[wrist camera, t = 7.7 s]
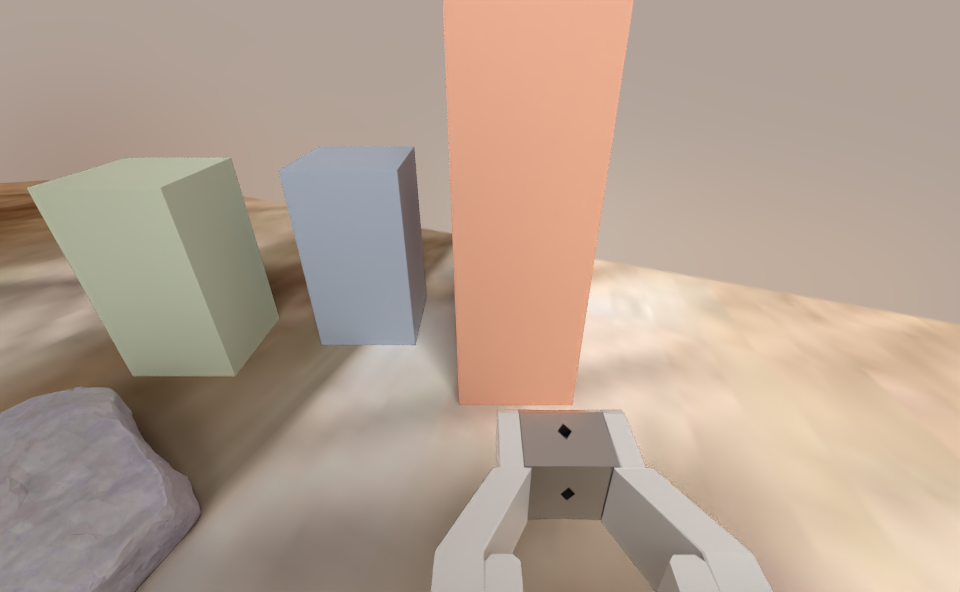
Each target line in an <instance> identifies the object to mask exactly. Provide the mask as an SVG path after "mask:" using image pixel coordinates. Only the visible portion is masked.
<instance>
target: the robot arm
mask: <svg viewBox="0 0 960 592" xmlns="http://www.w3.org/2000/svg"><path fill="white" fill-rule="evenodd" d="M535 519H586V520H601V523H602V524H603V525H604V526H605V528H606V529H607V530H608V531H609V533H610V534H611V535H612V537H613V538H614V539H615V540H616V542H617V543H618V544H619V545H620V547H621V548H622V549H623V551H624V552H625V553H626V554H627V556H628V557H629V558H630V559H631V561H632V562H633V563H634V565H635V566H636V567H637V568H638V570H639V571H640V572H641V573H642V575H643V576H644V577H645V578H646V580H647V581H648V582H649V584H650V585H651V586H652V587H653V589H654V590H655V591H656V592H773V590H772V588H771V587H770V585H769V583H768V581H767V579H766V577H765V575H764V573H763V572H762V570H761V568H760V566H759V564H758V562H757V560H756V559H755V557H754V555H753V553H752V552H750V551H749V550H748V549H747V548H746V547H745V546H743V545H742V544H741V543H740V542H739V541H738V540H736V539H735V538H734V537H733V536H732V535H731V534H729V533H728V532H727V531H726V530H725V529H724V528H722V527H721V526H720V525H719V524H718V523H717V522H715V521H714V520H713V519H712V518H711V517H710V516H708V515H707V514H706V513H705V512H704V511H702V510H701V509H700V508H699V507H698V506H697V505H695V504H694V503H693V502H692V501H691V500H690V499H688V498H687V497H686V496H685V495H684V494H683V493H681V492H680V491H679V490H678V489H677V488H676V487H674V486H673V485H672V484H671V483H670V482H669V481H667V480H666V479H665V478H664V477H663V476H662V475H660V474H659V473H658V472H657V471H656V470H655V469H653V468H646V466H645V464H644V461H643V459H642V456H641V454H640V451H639V449H638V446H637V444H636V441H635V439H634V436H633V434H632V431H631V429H630V426H629V424H628V421H627V419H626V416H625V414H624V412H623V411H622V410H558V411H556V410H502V409H497V430H496V467H493V468H492V469H491V471H490V472H489V474H488V475H487V476H486V478H485V479H484V481H483V482H482V484H481V485H480V487H479V488H478V489H477V491H476V492H475V494H474V495H473V497H472V498H471V500H470V501H469V503H468V504H467V505H466V507H465V508H464V510H463V511H462V513H461V514H460V516H459V517H458V518H457V520H456V521H455V523H454V524H453V526H452V527H451V529H450V530H449V531H448V533H447V534H446V536H445V537H444V539H443V540H442V542H441V543H440V544H439V546H438V547H437V549H436V550H435V555H434V565H433V574H432V584H431V592H523V581H522V569H521V561H520V560H519V559H518V558H517V557H516V556H515V555H514V554H512V553H513V551H514V549H515V547H516V544H517V542H518V540H519V538H520V536H521V534H522V532H523V530H524V528H525V526H526V524H527V520H535Z"/></svg>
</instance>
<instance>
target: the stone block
mask: <svg viewBox="0 0 960 592" xmlns="http://www.w3.org/2000/svg"><path fill="white" fill-rule="evenodd" d="M200 513H201V511H200V507H199V503H198V501H197V499H196V497H195V496H194V494H193V490H192V485H191V482H190V481H189V480H188V477H187V476H186V475H183V474H181V473H180V472H178V471H176V470H174V469H173V468H172V467H171V466H170V464H169V463H168V462H166V461H165V460H164V459H162V458H161V457H160V456H159V455H158V454H157V453H155V452H154V451H153V450H152V448H151V447H150V446H149V445H148V444H147V443H146V442H145V441H144V439H143V437H142V435H141V434H140V432H139V430H138V428H137V425H136V422H135V421H134V419H133V417H132V411H131V410H130V409H129V408H128V407H127V405H126V404H125V403H124V402H123V401H122V400H121V397H120V396H119V395H118V394H117V393H116V392H115V391H114V390H112V389H110V388H105V387H93V388H87V387H80V386H78V387H75V388H73V389H67V390H64V391H59V392H54V393H50V394H45V395H40V396H36V397H33V398H30V399H28V400H26V401H23V402H21V403H19V404H17V405H15V406H13V407H11V408H9V409H7V410H5V411H4V412H2V413H0V592H135V591H136V590H137V588H138V587H139V586H140V585H141V584H142V582H143V581H144V580H145V579H146V578H147V577H148V576H149V575H150V574H151V573H152V572H153V571H154V570H155V569H156V568H157V567H158V566H159V565H160V563H161V562H163V560H164V559H165V558H166V557H167V556H168V555H169V553H170V552H171V551H172V550H173V549H174V547H175V546H176V545H177V544H178V543H179V542H180V541H181V540H182V539H183V538H184V537H185V536H186V534H187V533H188V532H189V530H190V529H191V528H192V526H193V525H194V524H195V522H196V521H197V519H198V517H199V515H200Z"/></svg>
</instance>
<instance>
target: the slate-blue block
mask: <svg viewBox="0 0 960 592" xmlns="http://www.w3.org/2000/svg"><path fill="white" fill-rule="evenodd" d="M279 175H280V178H281V182H282V187H283V191H284V195H285V199H286V203H287V207H288V211H289V215H290V219H291V223H292V227H293V231H294V235H295V239H296V243H297V247H298V251H299V255H300V259H301V263H302V267H303V271H304V275H305V279H306V283H307V287H308V291H309V295H310V299H311V303H312V307H313V311H314V316H315V320H316V324H317V328H318V332H319V336H320V340H321V344H322V345H415V344H416V340H417V335H418V331H419V327H420V322H421V318H422V314H423V310H424V305H425V301H426V285H425V273H424V261H423V249H422V237H421V224H420V212H419V200H418V188H417V176H416V163H415V151H414V147H318V148H316V149H314V150H313V151H311V152H309V153H308V154H306V155H304V156H303V157H301V158H299V159H297V160H296V161H294V162H293V163H290V164H289V165H287V166H286V167H284V168H282V169H280V170H279Z"/></svg>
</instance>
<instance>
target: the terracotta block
mask: <svg viewBox="0 0 960 592" xmlns="http://www.w3.org/2000/svg"><path fill="white" fill-rule="evenodd" d="M633 1H634V0H443V14H444V37H445V38H444V39H445V63H446V88H447V114H448V137H449V163H450V188H451V213H452V238H453V263H454V288H455V313H456V338H457V363H458V388H459V405H572V404H573V397H574V391H575V384H576V378H577V371H578V364H579V358H580V351H581V345H582V338H583V331H584V325H585V318H586V312H587V305H588V298H589V292H590V285H591V279H592V272H593V265H594V259H595V252H596V246H597V239H598V232H599V225H600V219H601V213H602V206H603V199H604V192H605V186H606V179H607V173H608V166H609V160H610V153H611V147H612V140H613V133H614V127H615V120H616V114H617V107H618V100H619V94H620V87H621V80H622V74H623V67H624V61H625V53H626V48H627V41H628V34H629V28H630V21H631V15H632V7H633Z"/></svg>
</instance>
